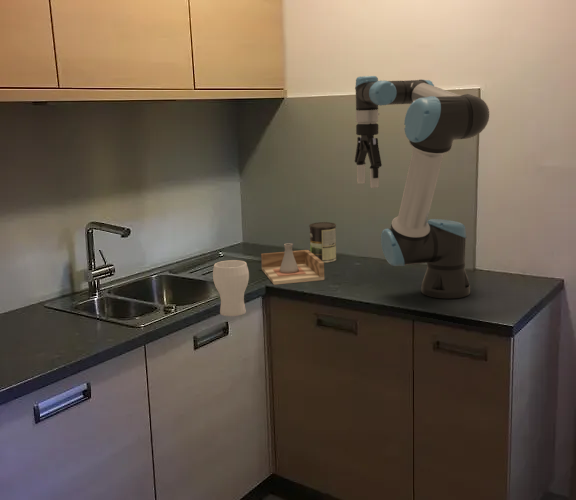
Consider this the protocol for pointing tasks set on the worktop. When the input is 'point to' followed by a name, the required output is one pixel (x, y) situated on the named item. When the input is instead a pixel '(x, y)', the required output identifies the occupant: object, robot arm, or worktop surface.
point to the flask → (288, 260)
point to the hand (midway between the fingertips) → (367, 185)
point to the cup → (231, 286)
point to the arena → (306, 262)
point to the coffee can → (323, 241)
